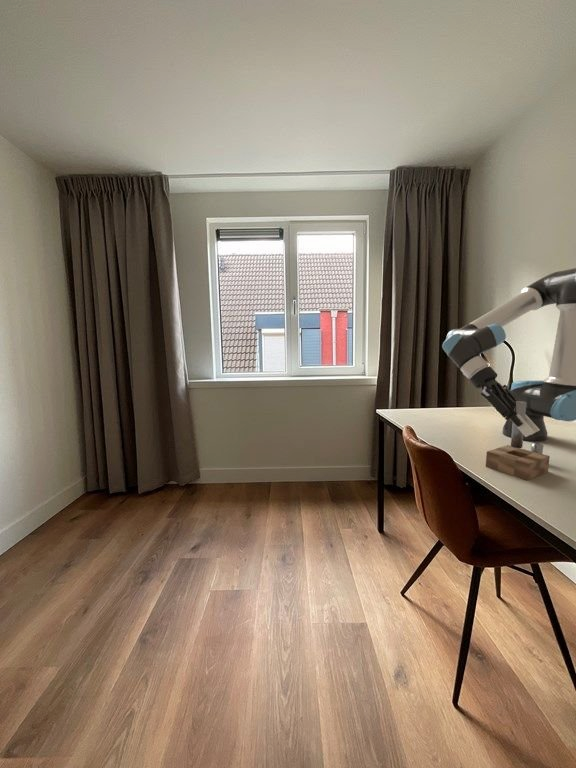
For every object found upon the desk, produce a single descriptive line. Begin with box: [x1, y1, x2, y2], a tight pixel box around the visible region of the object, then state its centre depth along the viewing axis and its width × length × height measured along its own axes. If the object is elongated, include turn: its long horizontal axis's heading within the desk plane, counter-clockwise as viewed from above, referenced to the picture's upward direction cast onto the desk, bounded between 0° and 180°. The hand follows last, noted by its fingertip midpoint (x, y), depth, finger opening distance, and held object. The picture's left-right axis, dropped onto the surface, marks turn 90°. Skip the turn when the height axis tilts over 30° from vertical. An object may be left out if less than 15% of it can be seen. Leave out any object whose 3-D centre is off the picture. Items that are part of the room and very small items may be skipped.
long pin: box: [510, 401, 526, 449], centre depth 102 cm, size 3×3×14 cm
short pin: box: [530, 442, 544, 454], centre depth 109 cm, size 3×3×6 cm
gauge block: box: [485, 444, 550, 481], centre depth 103 cm, size 12×12×5 cm
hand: (532, 433), depth 99 cm, fingers closed on long pin, 3 cm apart
